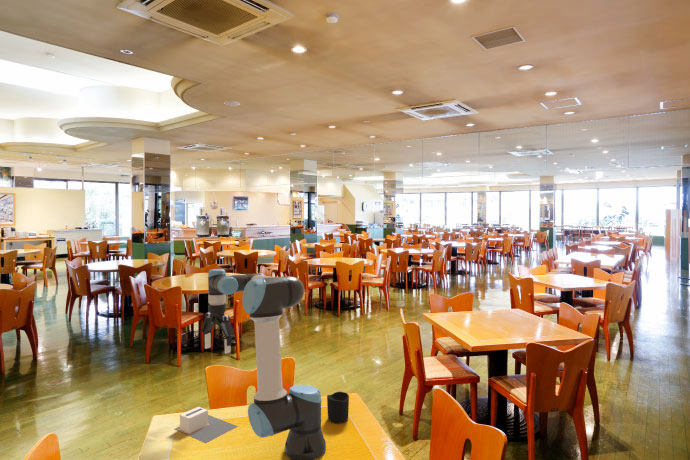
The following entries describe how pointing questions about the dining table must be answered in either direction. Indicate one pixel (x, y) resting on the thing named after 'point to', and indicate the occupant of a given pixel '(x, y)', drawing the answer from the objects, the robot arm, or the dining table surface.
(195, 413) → the white box
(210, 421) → the mat
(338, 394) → the pen holder
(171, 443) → the dining table surface
